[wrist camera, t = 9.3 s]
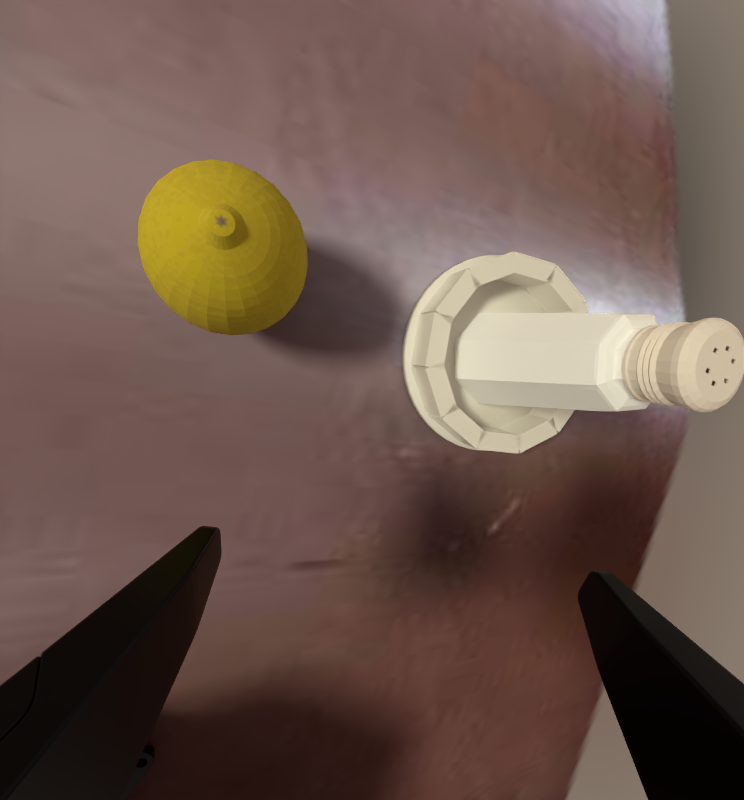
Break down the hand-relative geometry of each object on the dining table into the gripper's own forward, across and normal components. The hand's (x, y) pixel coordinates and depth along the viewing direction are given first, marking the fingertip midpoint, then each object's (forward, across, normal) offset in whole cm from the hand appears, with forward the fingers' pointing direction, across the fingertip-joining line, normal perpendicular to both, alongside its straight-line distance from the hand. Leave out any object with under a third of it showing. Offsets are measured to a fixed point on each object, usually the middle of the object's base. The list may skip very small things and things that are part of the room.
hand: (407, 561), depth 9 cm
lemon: (+12, +8, -4) cm, 15 cm away
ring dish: (+14, -6, -1) cm, 16 cm away
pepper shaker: (+14, -6, -1) cm, 15 cm away
